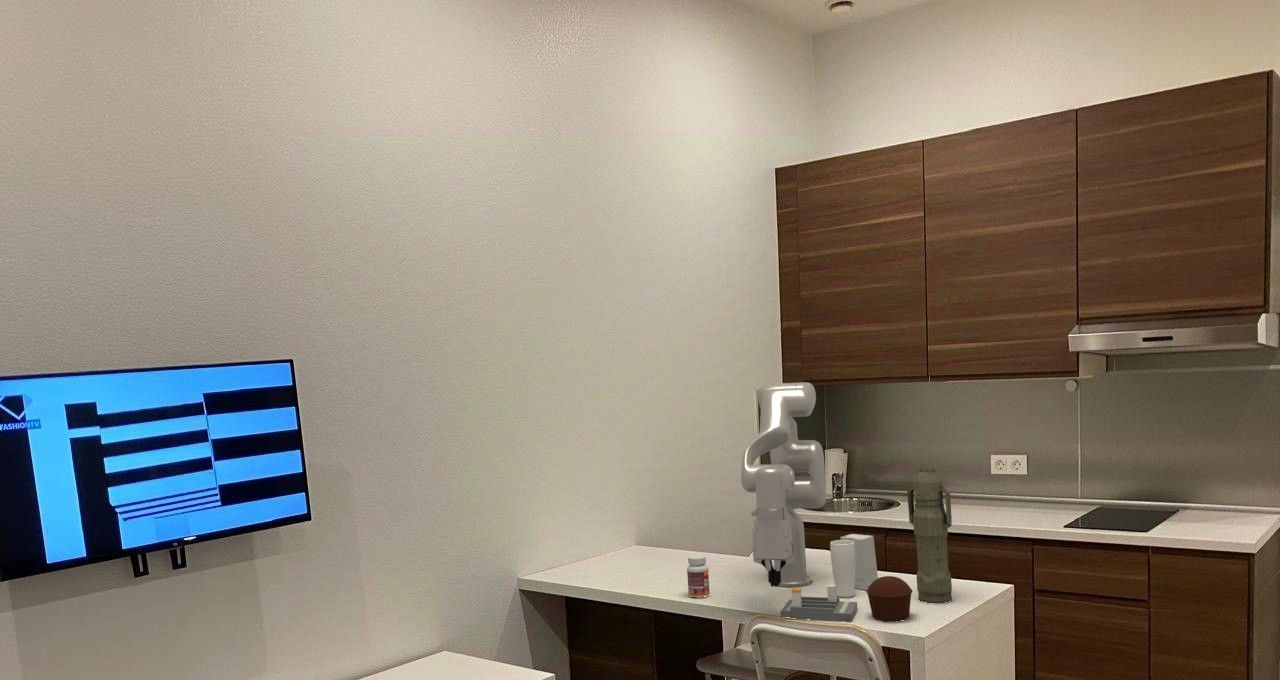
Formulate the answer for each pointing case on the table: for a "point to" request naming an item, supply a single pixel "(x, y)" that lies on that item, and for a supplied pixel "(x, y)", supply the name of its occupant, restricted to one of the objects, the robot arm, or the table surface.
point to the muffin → (889, 599)
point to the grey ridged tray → (822, 608)
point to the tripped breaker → (796, 597)
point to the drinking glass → (843, 567)
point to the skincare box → (863, 560)
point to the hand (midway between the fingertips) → (775, 585)
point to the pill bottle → (697, 576)
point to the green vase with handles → (931, 535)
